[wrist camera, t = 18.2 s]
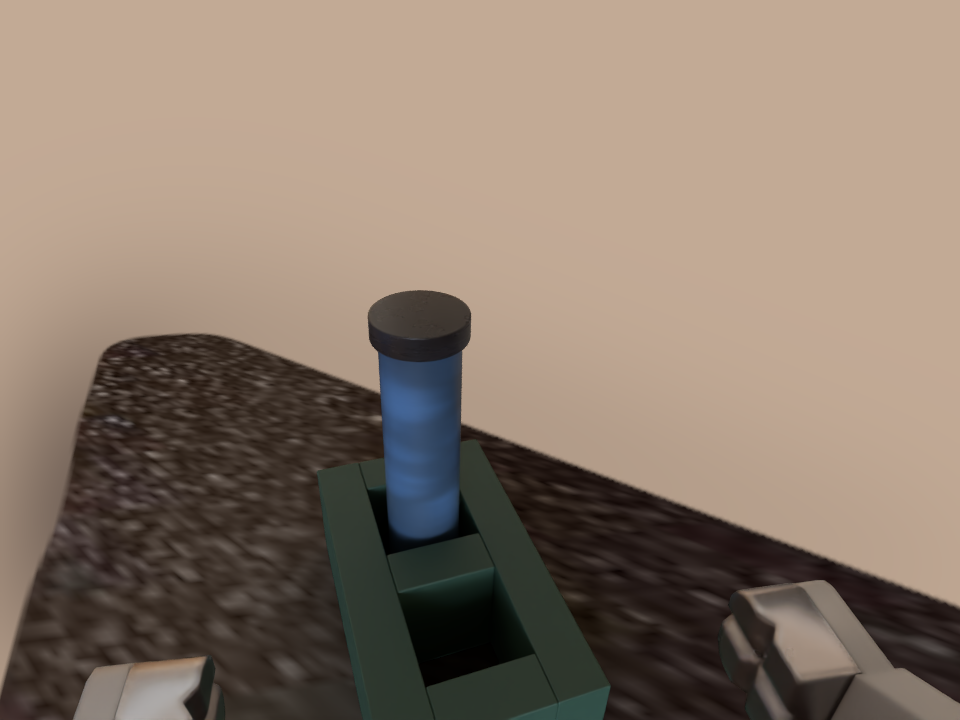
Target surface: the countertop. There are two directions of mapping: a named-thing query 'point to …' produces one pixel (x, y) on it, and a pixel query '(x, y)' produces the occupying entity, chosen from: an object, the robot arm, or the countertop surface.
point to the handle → (421, 412)
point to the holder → (453, 607)
